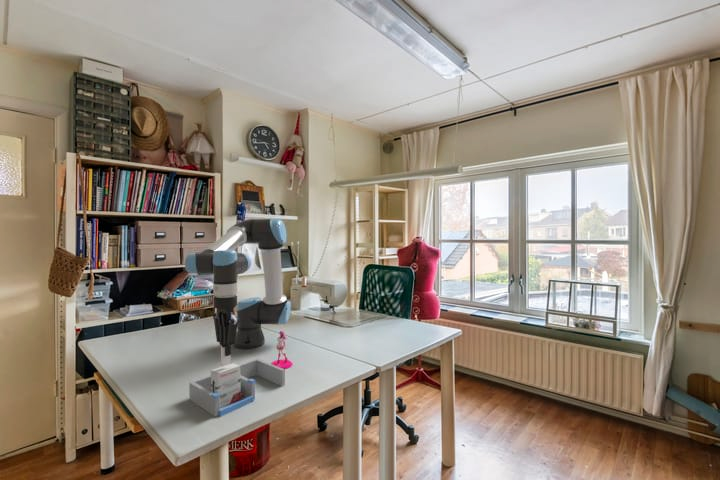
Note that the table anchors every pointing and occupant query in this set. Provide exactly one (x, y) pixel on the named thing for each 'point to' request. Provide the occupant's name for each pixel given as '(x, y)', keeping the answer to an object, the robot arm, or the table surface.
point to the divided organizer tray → (210, 401)
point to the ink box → (226, 383)
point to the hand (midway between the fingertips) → (225, 364)
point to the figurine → (280, 346)
